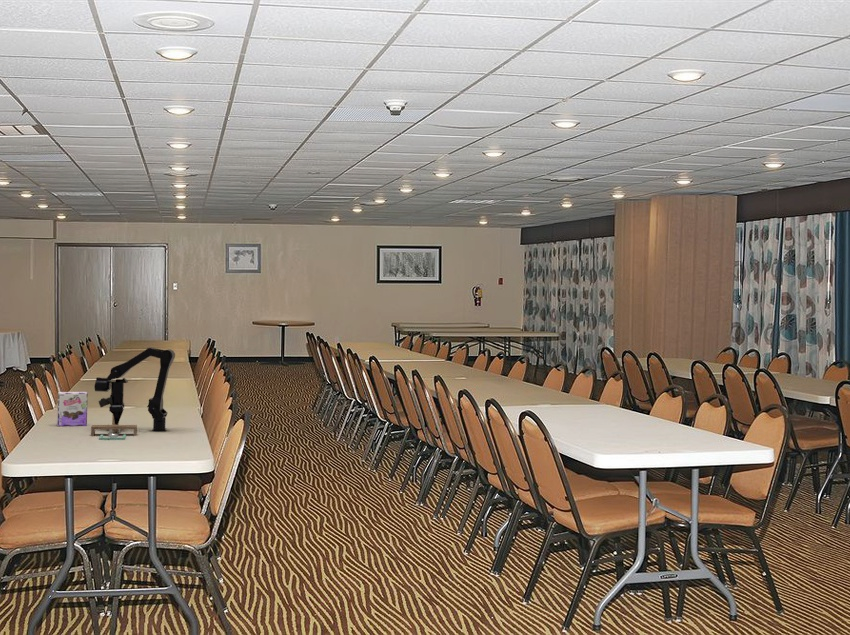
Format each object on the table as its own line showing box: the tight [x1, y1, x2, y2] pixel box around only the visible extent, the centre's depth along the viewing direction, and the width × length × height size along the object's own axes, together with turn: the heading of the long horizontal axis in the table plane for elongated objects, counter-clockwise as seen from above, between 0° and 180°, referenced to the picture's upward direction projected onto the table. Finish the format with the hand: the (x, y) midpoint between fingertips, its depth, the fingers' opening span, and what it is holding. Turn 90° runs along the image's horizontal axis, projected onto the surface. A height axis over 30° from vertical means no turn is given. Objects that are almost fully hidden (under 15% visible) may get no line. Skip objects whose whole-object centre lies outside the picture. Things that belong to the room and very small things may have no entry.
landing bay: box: [98, 434, 127, 441], centre depth 452 cm, size 11×11×1 cm
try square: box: [107, 413, 122, 436], centre depth 471 cm, size 22×5×9 cm, turn 15°
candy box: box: [56, 391, 89, 427], centre depth 490 cm, size 14×6×16 cm, turn 112°
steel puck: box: [108, 433, 119, 438], centre depth 456 cm, size 4×4×2 cm
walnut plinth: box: [90, 424, 138, 437], centre depth 462 cm, size 6×20×4 cm, turn 104°
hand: (116, 424), depth 480 cm, fingers closed on try square, 3 cm apart
